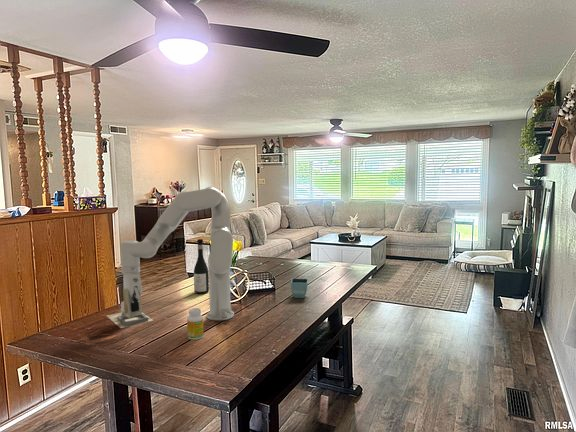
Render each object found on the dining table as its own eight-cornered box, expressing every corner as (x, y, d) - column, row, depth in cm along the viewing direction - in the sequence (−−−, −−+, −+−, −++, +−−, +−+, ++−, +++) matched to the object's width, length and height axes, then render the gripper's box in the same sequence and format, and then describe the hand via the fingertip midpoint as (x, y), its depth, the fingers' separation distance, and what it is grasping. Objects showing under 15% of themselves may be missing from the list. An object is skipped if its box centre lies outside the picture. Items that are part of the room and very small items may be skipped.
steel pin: (129, 314, 184) (129, 302, 183) (122, 316, 182) (122, 303, 181) (127, 313, 186) (126, 300, 185) (120, 314, 184) (120, 301, 183)
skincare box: (138, 312, 179) (136, 285, 178) (142, 314, 176) (141, 287, 175) (123, 315, 175) (122, 288, 174) (128, 318, 172) (126, 290, 171)
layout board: (153, 323, 177) (153, 316, 177) (120, 331, 168) (120, 324, 167) (137, 311, 192) (136, 305, 192) (106, 318, 183) (106, 312, 183)
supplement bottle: (195, 341, 157) (194, 313, 156) (184, 338, 161) (183, 310, 160) (206, 335, 163) (206, 308, 162) (195, 332, 166) (194, 306, 165)
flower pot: (308, 294, 217) (308, 278, 216) (307, 299, 209) (307, 282, 208) (292, 294, 218) (292, 278, 217) (290, 299, 209) (290, 282, 209)
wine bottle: (205, 294, 218) (203, 240, 215) (192, 294, 220) (190, 240, 217) (211, 290, 226) (209, 238, 223) (198, 289, 228) (196, 238, 225)
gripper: (146, 271, 170) (148, 312, 171) (132, 264, 182) (134, 303, 184) (128, 274, 165) (131, 316, 167) (115, 267, 177) (117, 306, 179)
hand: (132, 309), depth 175 cm, fingers closed on skincare box, 4 cm apart
